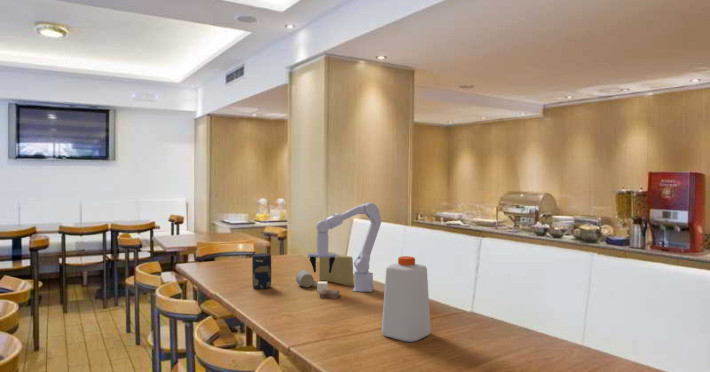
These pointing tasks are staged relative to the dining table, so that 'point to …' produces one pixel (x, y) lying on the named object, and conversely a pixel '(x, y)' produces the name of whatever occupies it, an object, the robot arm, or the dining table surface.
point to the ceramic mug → (305, 279)
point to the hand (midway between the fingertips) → (322, 272)
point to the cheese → (337, 270)
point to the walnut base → (329, 294)
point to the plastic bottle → (406, 301)
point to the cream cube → (322, 286)
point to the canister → (261, 270)
